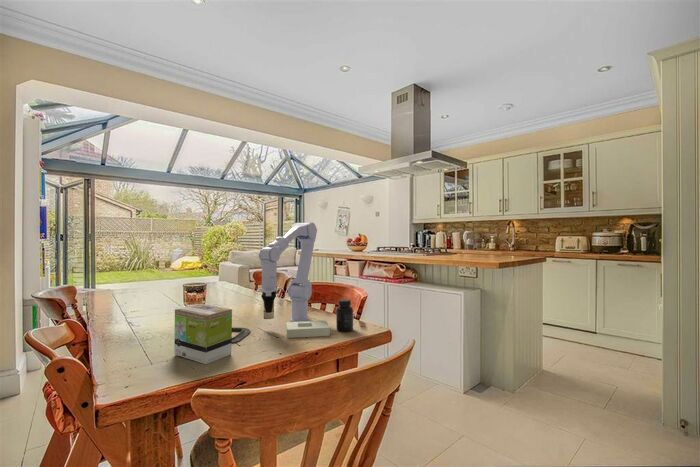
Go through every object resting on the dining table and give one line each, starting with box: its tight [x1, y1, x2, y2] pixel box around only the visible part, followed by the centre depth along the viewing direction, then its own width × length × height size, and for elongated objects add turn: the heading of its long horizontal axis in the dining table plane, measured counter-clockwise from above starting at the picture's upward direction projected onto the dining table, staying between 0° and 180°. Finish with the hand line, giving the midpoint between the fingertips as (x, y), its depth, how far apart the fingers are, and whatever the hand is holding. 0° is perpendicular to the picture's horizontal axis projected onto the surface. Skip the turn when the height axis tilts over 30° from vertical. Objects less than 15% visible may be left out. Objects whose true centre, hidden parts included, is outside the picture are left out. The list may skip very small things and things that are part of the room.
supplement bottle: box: [335, 298, 354, 333], centre depth 133 cm, size 7×7×12 cm
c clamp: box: [232, 326, 251, 345], centre depth 122 cm, size 20×17×3 cm
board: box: [285, 320, 331, 339], centre depth 129 cm, size 11×16×3 cm
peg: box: [263, 301, 275, 320], centre depth 132 cm, size 4×4×8 cm
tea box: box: [173, 303, 233, 365], centre depth 103 cm, size 15×10×15 cm, turn 62°
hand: (269, 311), depth 132 cm, fingers closed on peg, 4 cm apart
